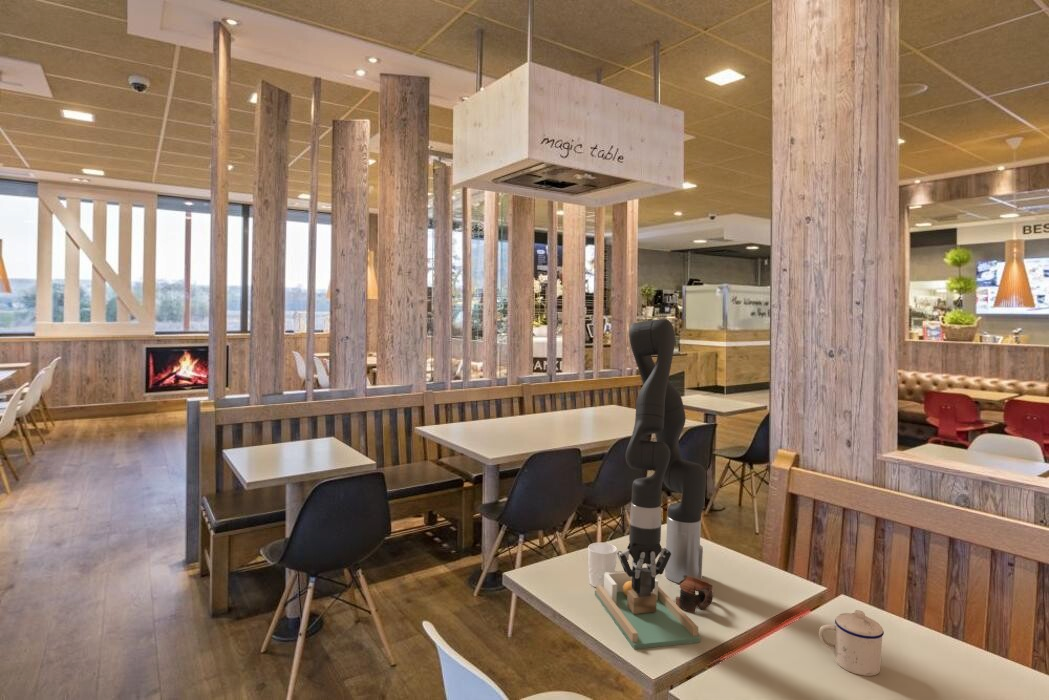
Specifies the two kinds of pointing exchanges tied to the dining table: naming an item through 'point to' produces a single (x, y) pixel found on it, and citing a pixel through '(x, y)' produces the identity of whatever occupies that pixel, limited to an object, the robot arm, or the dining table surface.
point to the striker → (642, 595)
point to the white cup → (600, 562)
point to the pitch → (646, 616)
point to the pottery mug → (688, 596)
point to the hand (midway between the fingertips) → (642, 590)
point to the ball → (627, 587)
